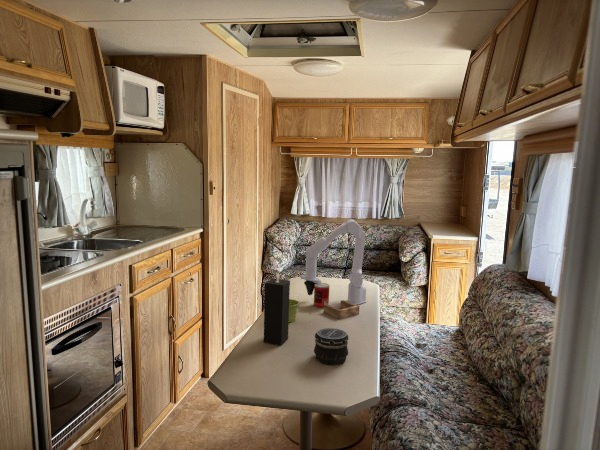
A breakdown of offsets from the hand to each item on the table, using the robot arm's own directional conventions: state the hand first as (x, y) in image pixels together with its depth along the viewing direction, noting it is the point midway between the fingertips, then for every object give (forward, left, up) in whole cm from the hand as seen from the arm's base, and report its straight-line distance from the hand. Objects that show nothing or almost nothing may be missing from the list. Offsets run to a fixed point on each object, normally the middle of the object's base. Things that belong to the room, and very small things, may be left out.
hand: (310, 294), depth 231 cm
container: (+40, +58, -4) cm, 70 cm away
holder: (0, +23, -3) cm, 23 cm away
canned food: (0, +9, -4) cm, 10 cm away
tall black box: (+47, +33, -4) cm, 57 cm away
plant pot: (+28, +17, -4) cm, 33 cm away
